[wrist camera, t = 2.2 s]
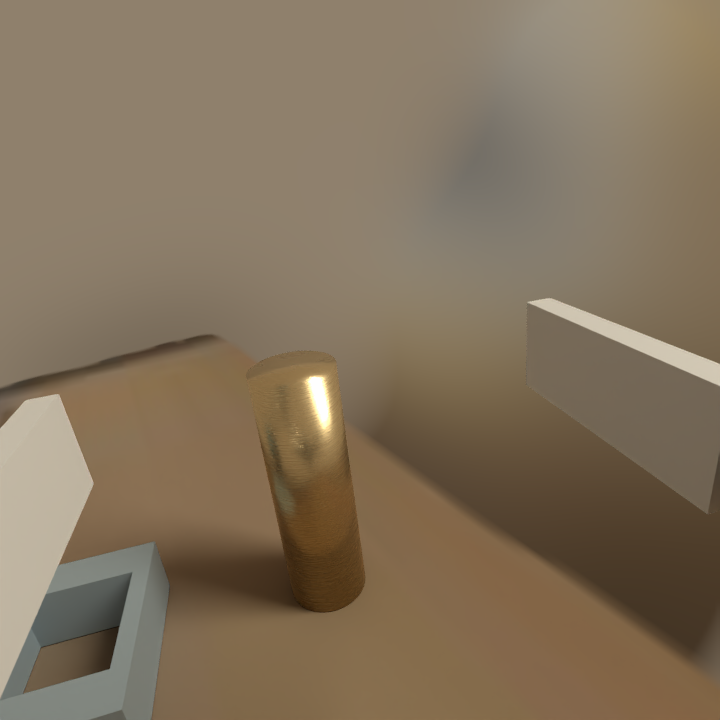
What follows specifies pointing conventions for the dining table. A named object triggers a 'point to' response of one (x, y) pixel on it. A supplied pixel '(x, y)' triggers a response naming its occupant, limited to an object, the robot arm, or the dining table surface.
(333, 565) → the gold metal cylinder
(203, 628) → the dining table surface
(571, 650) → the dining table surface
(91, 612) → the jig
